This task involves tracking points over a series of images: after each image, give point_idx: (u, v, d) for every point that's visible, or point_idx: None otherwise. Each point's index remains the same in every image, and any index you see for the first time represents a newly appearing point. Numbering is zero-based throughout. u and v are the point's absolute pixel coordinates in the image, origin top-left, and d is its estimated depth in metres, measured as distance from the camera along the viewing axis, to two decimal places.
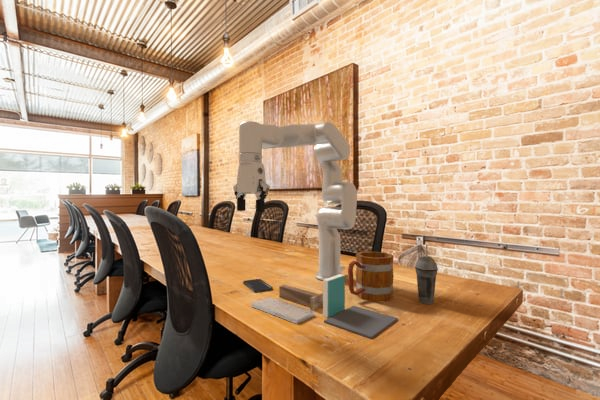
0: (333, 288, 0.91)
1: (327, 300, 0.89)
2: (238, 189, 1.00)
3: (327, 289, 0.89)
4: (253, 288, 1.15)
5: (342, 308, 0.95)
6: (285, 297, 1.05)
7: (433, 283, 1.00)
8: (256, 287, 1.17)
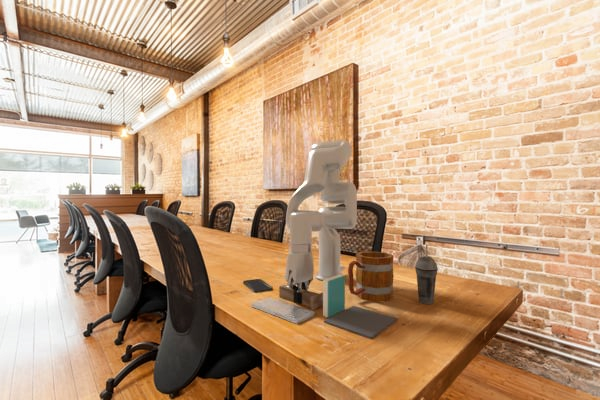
0: (333, 288, 0.91)
1: (327, 300, 0.89)
2: (297, 280, 0.98)
3: (327, 289, 0.89)
4: (253, 288, 1.15)
5: (342, 308, 0.95)
6: (285, 297, 1.05)
7: (433, 283, 1.00)
8: (256, 287, 1.17)
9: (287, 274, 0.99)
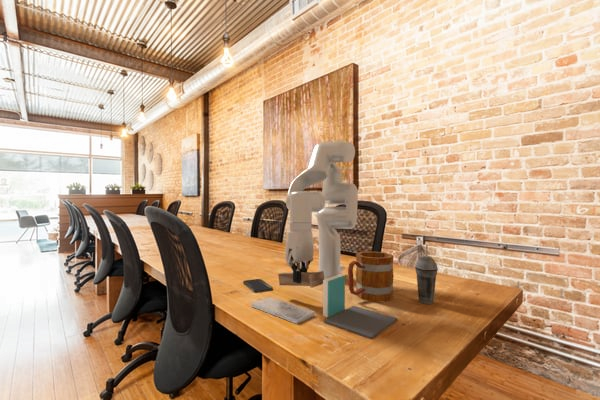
0: (333, 288, 0.91)
1: (327, 300, 0.89)
2: (297, 258, 0.98)
3: (327, 289, 0.89)
4: (253, 288, 1.15)
5: (342, 308, 0.95)
6: (285, 283, 1.05)
7: (433, 283, 1.00)
8: (256, 287, 1.17)
9: (287, 253, 0.99)
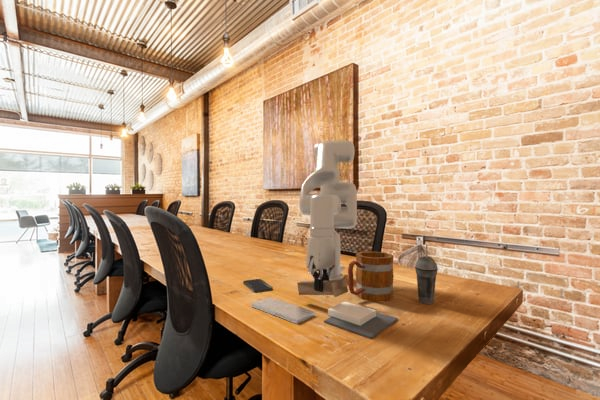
0: None
1: (342, 319, 0.86)
2: (319, 266, 0.92)
3: (352, 322, 0.83)
4: (253, 288, 1.15)
5: None
6: (305, 292, 0.99)
7: (433, 283, 1.00)
8: (256, 287, 1.17)
9: (308, 260, 0.93)
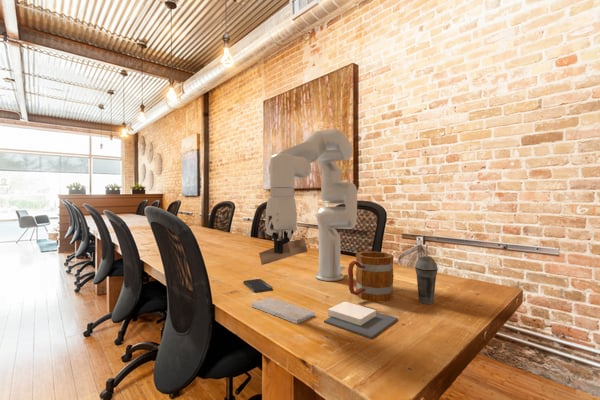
0: None
1: (342, 319, 0.86)
2: (278, 226, 0.90)
3: (352, 322, 0.83)
4: (253, 288, 1.15)
5: None
6: (267, 261, 0.97)
7: (433, 283, 1.00)
8: (256, 287, 1.17)
9: (267, 220, 0.91)
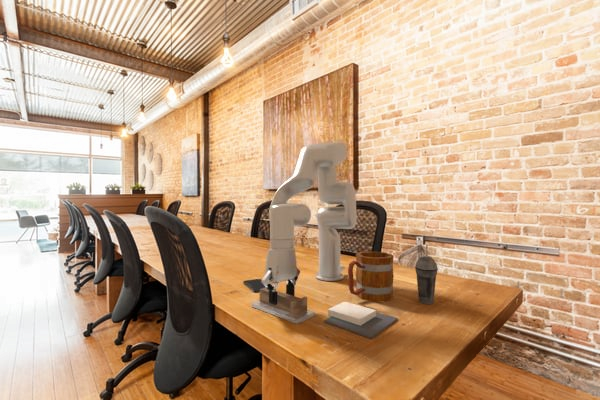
0: None
1: (342, 319, 0.86)
2: (278, 278, 0.90)
3: (352, 322, 0.83)
4: (253, 288, 1.15)
5: None
6: (265, 301, 0.97)
7: (433, 283, 1.00)
8: (256, 287, 1.17)
9: (267, 272, 0.91)
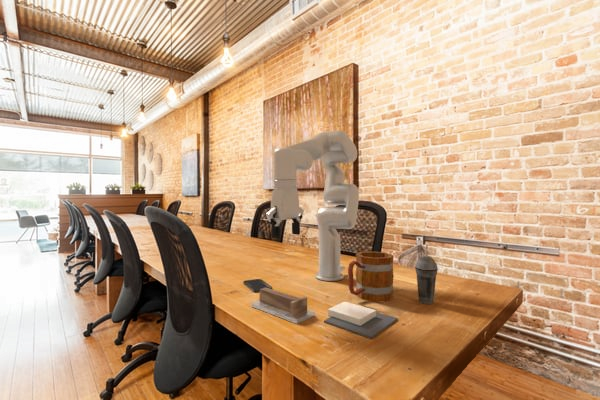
0: None
1: (342, 319, 0.86)
2: (282, 215, 0.97)
3: (352, 322, 0.83)
4: (253, 288, 1.15)
5: None
6: (265, 301, 0.97)
7: (433, 283, 1.00)
8: (256, 287, 1.17)
9: None
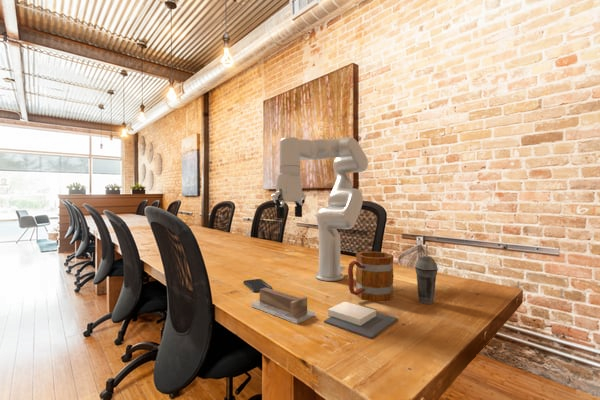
0: None
1: (342, 319, 0.86)
2: (286, 197, 1.07)
3: (352, 322, 0.83)
4: (253, 288, 1.15)
5: None
6: (265, 301, 0.97)
7: (433, 283, 1.00)
8: (256, 287, 1.17)
9: None
